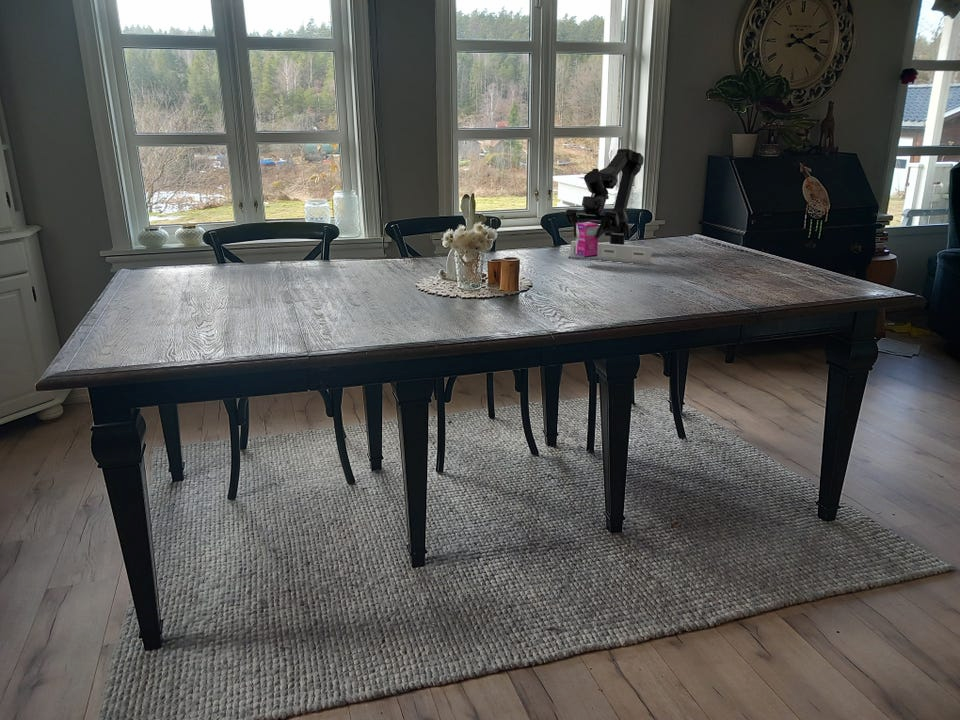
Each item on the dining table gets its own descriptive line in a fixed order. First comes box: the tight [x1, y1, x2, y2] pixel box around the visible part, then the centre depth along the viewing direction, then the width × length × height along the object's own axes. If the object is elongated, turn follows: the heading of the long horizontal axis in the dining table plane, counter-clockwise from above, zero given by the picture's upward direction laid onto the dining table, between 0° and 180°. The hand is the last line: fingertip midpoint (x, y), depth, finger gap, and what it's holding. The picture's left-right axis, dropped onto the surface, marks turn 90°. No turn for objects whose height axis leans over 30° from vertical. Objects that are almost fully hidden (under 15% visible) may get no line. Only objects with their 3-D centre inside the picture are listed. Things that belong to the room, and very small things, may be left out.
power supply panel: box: [568, 240, 653, 266], centre depth 264 cm, size 6×30×6 cm, turn 62°
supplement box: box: [575, 221, 600, 258], centre depth 254 cm, size 6×6×12 cm
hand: (585, 237), depth 252 cm, fingers closed on supplement box, 8 cm apart
